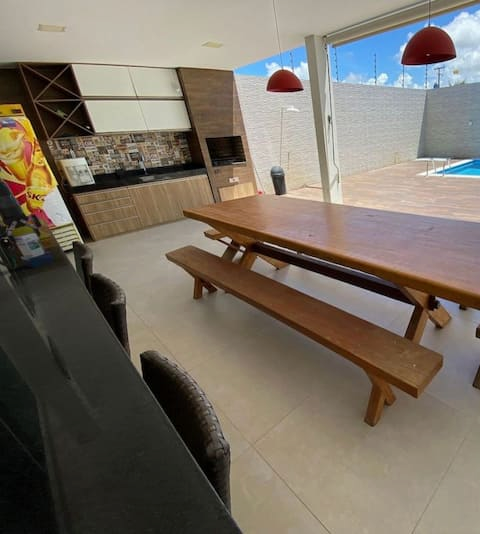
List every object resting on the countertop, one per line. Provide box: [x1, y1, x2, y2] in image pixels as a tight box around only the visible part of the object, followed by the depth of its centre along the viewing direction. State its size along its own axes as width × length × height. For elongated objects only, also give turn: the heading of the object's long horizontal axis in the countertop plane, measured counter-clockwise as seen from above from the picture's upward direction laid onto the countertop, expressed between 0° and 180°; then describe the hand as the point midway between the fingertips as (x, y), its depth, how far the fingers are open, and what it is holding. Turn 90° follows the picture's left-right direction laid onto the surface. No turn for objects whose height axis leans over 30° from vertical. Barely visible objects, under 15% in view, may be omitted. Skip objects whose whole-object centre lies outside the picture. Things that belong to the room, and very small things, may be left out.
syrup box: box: [13, 232, 48, 258], centre depth 145 cm, size 6×6×14 cm
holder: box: [20, 251, 55, 269], centre depth 148 cm, size 8×8×5 cm
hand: (26, 239), depth 143 cm, fingers open, 8 cm apart
